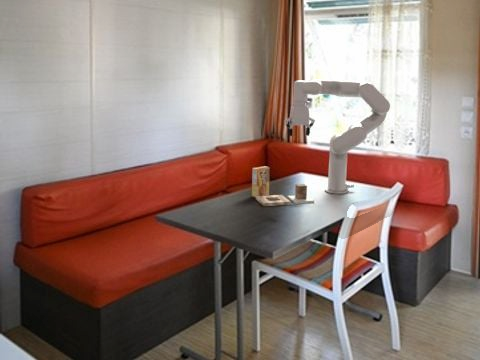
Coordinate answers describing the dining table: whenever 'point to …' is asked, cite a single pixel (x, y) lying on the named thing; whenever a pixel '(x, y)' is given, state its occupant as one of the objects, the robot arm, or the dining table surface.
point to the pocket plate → (279, 201)
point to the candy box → (260, 181)
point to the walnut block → (301, 191)
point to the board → (300, 200)
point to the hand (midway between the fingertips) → (299, 135)
